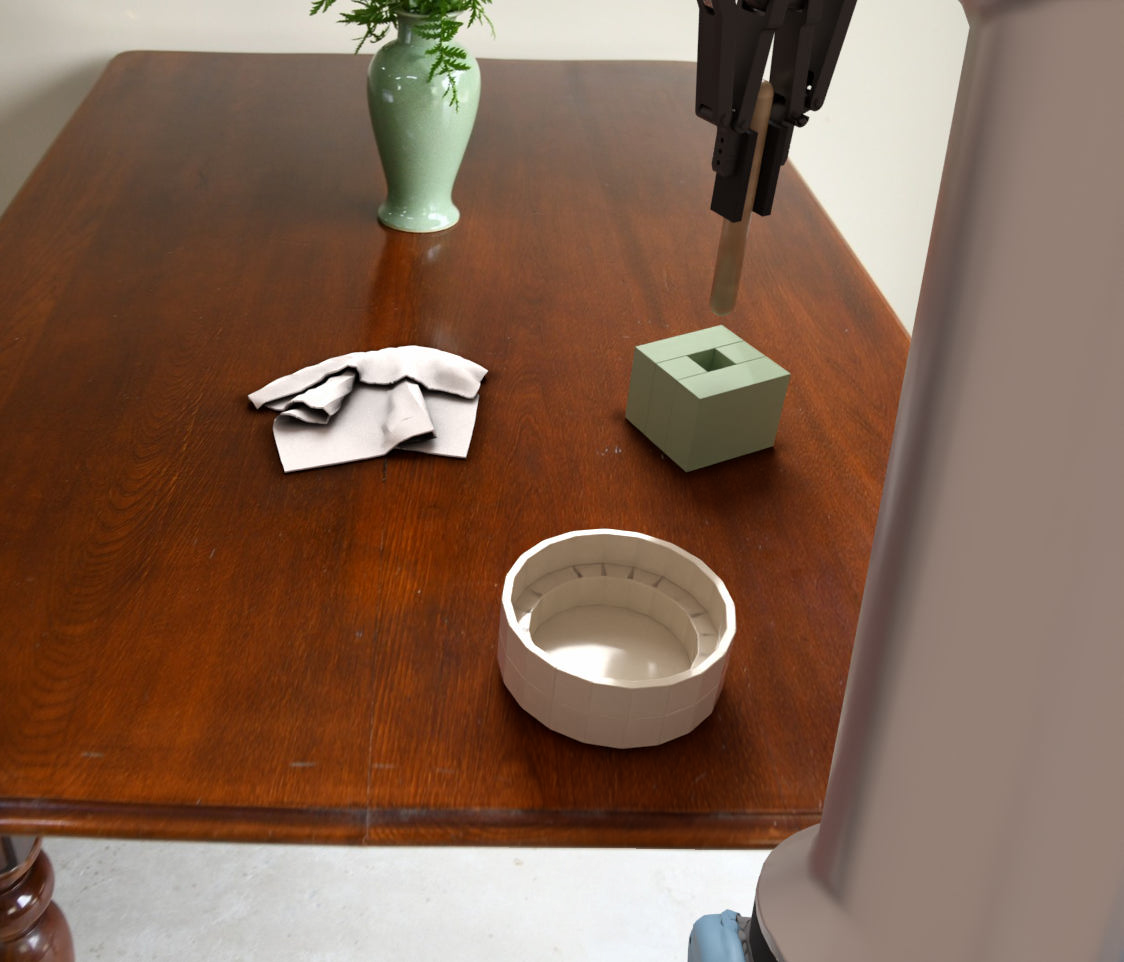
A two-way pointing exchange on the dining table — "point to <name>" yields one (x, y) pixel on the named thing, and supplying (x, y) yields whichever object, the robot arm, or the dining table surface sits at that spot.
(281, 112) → the dining table surface
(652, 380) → the stand
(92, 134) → the dining table surface
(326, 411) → the cloth
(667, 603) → the bowl
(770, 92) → the stick
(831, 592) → the dining table surface
